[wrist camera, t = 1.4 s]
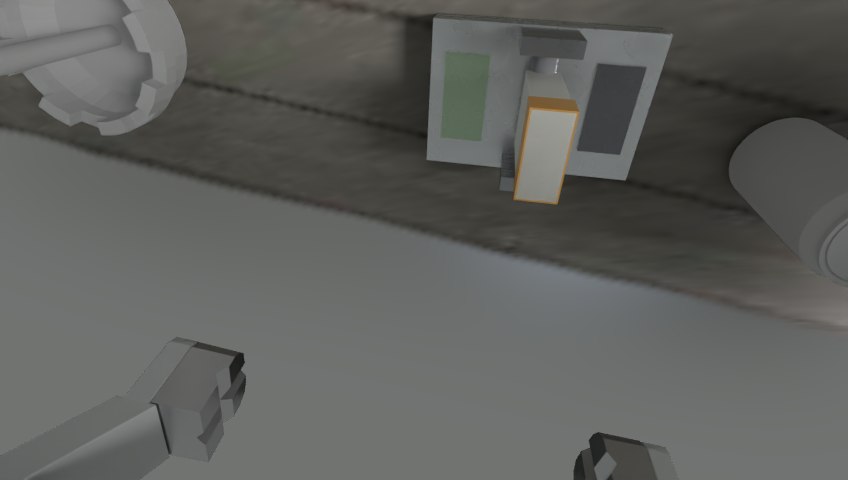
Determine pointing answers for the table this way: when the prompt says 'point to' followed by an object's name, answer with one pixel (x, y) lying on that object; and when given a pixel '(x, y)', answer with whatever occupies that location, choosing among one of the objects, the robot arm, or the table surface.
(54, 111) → the flag stand
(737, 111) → the table surface
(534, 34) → the breaker panel
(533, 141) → the breaker lever
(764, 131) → the beverage can
